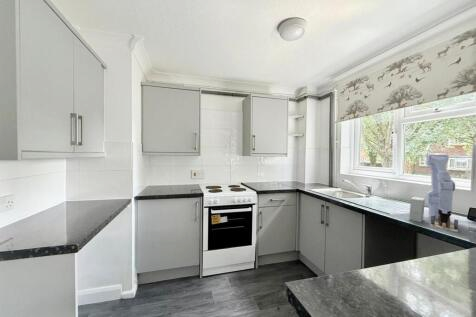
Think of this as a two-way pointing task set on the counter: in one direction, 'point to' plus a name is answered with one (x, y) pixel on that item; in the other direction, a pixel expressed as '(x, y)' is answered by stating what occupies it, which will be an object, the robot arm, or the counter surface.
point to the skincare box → (417, 209)
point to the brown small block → (441, 223)
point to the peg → (444, 226)
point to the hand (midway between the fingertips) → (444, 222)
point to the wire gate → (446, 225)
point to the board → (446, 227)
